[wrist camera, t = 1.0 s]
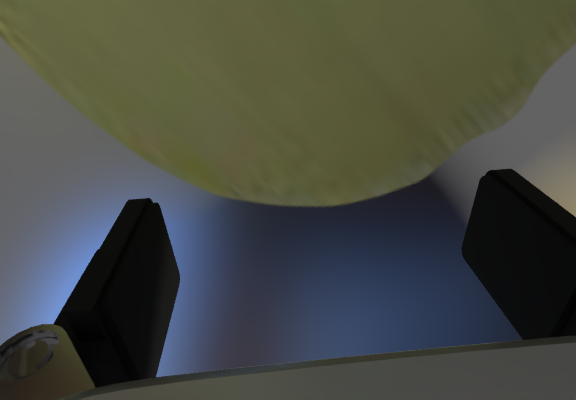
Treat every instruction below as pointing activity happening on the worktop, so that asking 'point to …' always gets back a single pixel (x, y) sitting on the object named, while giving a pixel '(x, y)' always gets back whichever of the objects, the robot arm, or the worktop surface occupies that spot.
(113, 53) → the worktop surface
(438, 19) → the worktop surface
